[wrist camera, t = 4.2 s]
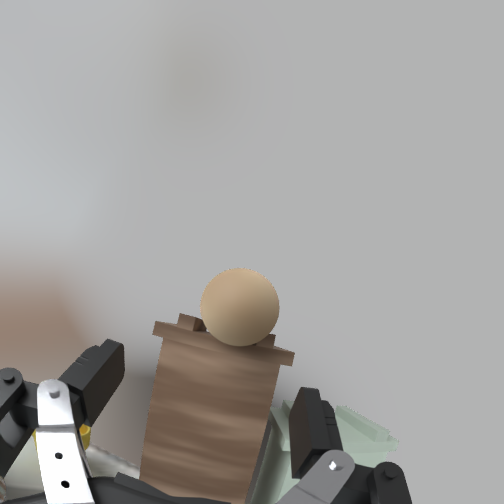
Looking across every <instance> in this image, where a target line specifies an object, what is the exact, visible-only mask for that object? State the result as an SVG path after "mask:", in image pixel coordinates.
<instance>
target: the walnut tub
mask: <svg viewBox="0 0 504 504" xmlns="http://www.w3.org/2000/svg"><path fill="white" fill-rule="evenodd" d="M206 329H207V328H206V326H205V324H204V322H203V320H201V319H199V318H196V317H193V316H189V315H185V314H181V313H180V315H179V319H178V323H177V324H171V323H165V322H158V321H156V322H155V326H154V330H153V335H156V336H159V337H163V342H162V347H161V351H160V356H159V360H158V365H157V370H156V375H155V380H154V386H153V391H152V396H151V403H150V408H149V413H148V420H147V426H146V432H145V438H144V446H143V453H142V460H141V468H140V476H139V480H141V481H144V482H146V483H148V484H149V485H151V486H153V487H155V488H156V489H158V490H160V491H162V492H164V493H166V494H168V495H170V496H176V497H201V498H207V499H212V500H218V501H224V502H230V503H231V504H244V503H245V499H246V496H247V493H248V490H249V486H250V482H251V479H252V476H253V472H254V468H255V465H256V461H257V458H258V454H259V450H260V447H261V443H262V439H263V435H264V431H265V427H266V423H267V420H268V415H269V411H270V407H271V403H272V399H273V394H274V390H275V386H276V381H277V377H278V373H279V368H280V364H281V365H287V366H292V363H293V359H294V354H295V353H294V352H291V351H288V350H285V349H282V348H279V347H276V346H274V341H275V336H276V335H273V334H268V335H267V336H266V337H265V338H264V339H262V340H261V341H259V342H257V343H254V344H252V345H247V346H233V345H229V344H226V343H223V342H221V341H220V340H218V339H217V338H215V337H214V336H213V335H212V334H211V333H210V332H207V331H206Z"/></svg>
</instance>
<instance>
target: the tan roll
mask: <svg viewBox="0 0 504 504" xmlns="http://www.w3.org/2000/svg"><path fill="white" fill-rule="evenodd" d="M200 309H201V316H202V319H203V322H204V324H205V326H206V328H207V329H208V331H209V332H210V333H211V334H212V335H213V336H214V337H215V338H217V339H218V340H220V341H221V342H223V343H226V344H229V345H233V346H247V345H252V344H254V343H257V342H259V341H261V340H262V339H264V338H265V337H266V336H267V335H268V334H269V333H270V332H271V331H272V329H273V328H274V326H275V324H276V322H277V319H278V315H279V300H278V296H277V293H276V291H275V289H274V287H273V286H272V284H271V283H270V282H269V281H268V280H267V279H266V278H265V277H264V276H262V275H261V274H259V273H257V272H255V271H253V270H250V269H245V268H236V269H229V270H226V271H224V272H222V273H220V274H219V275H217V276H216V277H214V278H213V279H212V280H211V281H210V282H209V284H208V285H207V286H206V288H205V290H204V292H203V295H202V298H201V304H200Z"/></svg>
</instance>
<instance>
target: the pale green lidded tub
mask: <svg viewBox="0 0 504 504" xmlns="http://www.w3.org/2000/svg"><path fill="white" fill-rule="evenodd" d="M293 404H294V401H287V400H283V404H282V408H275V407H270V411H269V415H268V418H269V421H270V423H271V425H272V429H271V433H270V436H269V440H268V444H267V448H266V451H265V455H264V459H263V462H262V466H261V469H260V473H259V476H258V479H257V483H256V486H255V490H254V493H253V496H252V500H251V502H250V504H276V503H277V502H278V501H279V500H280V499H281V498H282V497H283V496H284V495H285V494H286V493H287V492H288V491H289V490H290V489H291V488H292V487H293V486H294V485H296V484H297V483H298V482H299V481H300V479H292V473H291V455H290V438H289V414H290V411H291V408H292V406H293ZM335 417H336V418H335V419H336V421H337V426H338V429H339V433H340V437H341V441H342V446H343V450H344V452H346V453H347V454H349V455H350V456H351V457H352V458H353V460H354V462H355V463H356V464H359V465H363V466H367V467H372V468H375V467H376V466H377V465H378V464H379V463H382V462H385V459H386V456H387V453H388V452H390V451H396V449H397V446H398V443H399V440H397V439H395V438H393V437H392V436H390V435H389V432H390V431H389V430H387V429H385V428H383V427H382V426H380V425H378V424H376V423H374V422H373V421H371V420H369V419H367V418H365V417H364V416H362V415H360V414H358V413H357V412H355V411H353V410H352V409H350V408H348V407H347V406H337V407H336V411H335Z"/></svg>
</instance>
